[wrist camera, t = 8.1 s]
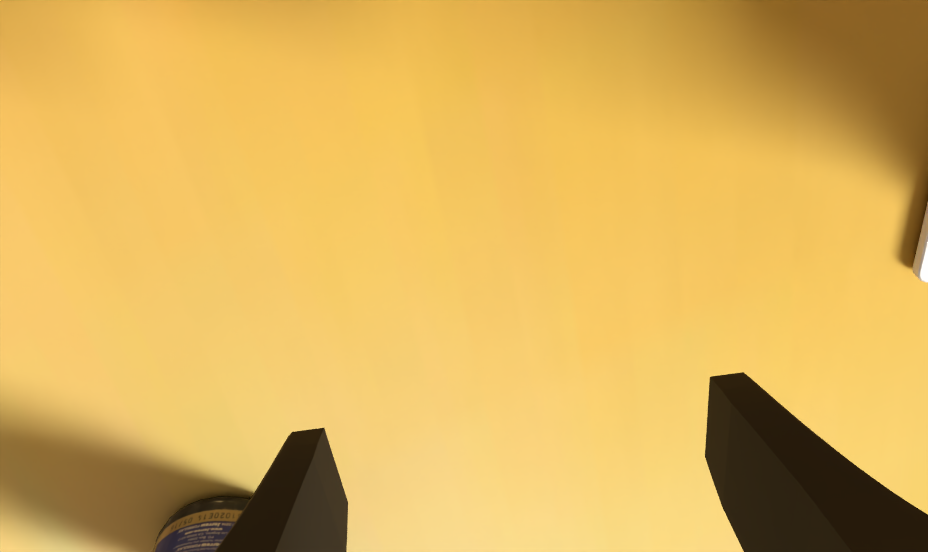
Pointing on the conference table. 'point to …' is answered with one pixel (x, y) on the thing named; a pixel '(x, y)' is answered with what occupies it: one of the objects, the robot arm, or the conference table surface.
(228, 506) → the pill bottle
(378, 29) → the conference table surface
